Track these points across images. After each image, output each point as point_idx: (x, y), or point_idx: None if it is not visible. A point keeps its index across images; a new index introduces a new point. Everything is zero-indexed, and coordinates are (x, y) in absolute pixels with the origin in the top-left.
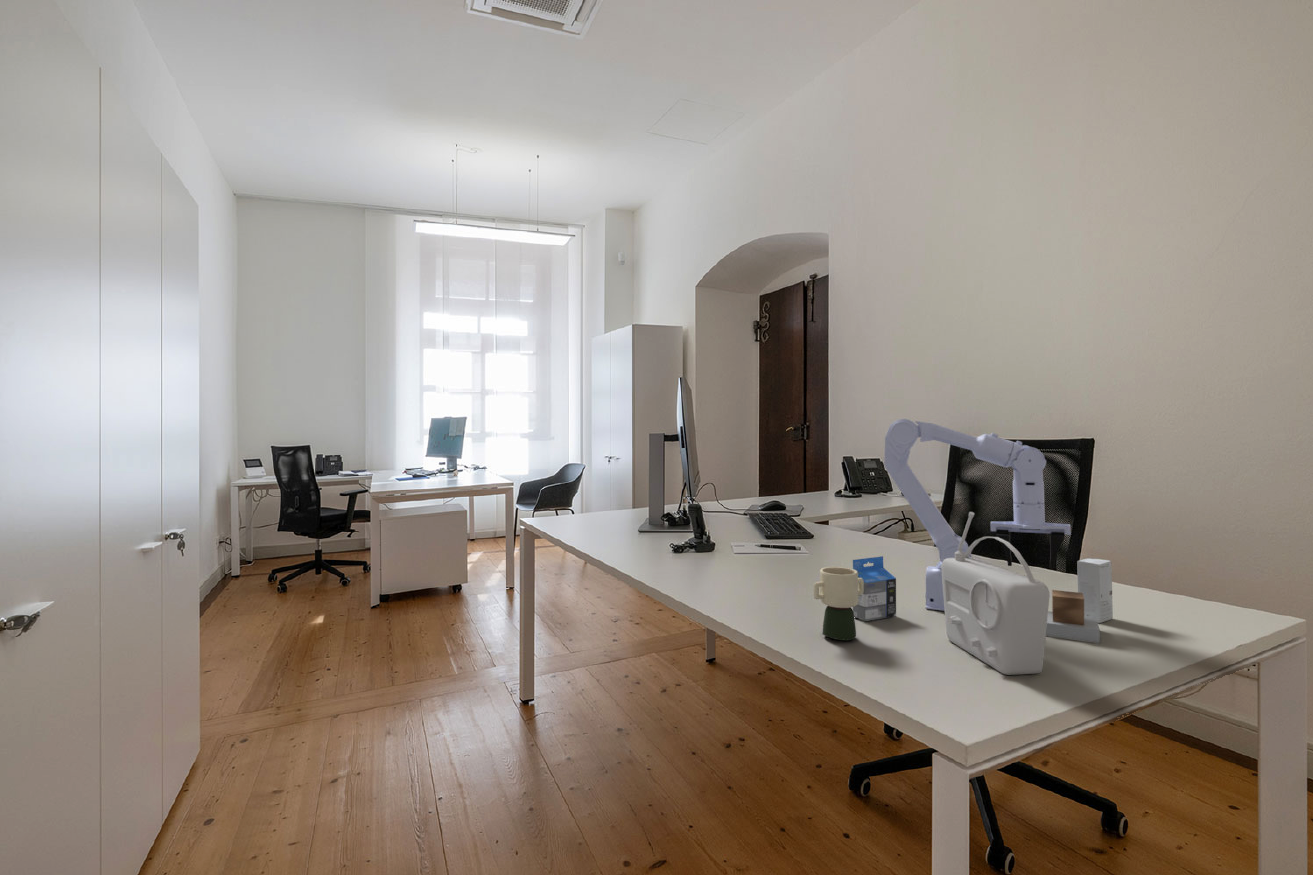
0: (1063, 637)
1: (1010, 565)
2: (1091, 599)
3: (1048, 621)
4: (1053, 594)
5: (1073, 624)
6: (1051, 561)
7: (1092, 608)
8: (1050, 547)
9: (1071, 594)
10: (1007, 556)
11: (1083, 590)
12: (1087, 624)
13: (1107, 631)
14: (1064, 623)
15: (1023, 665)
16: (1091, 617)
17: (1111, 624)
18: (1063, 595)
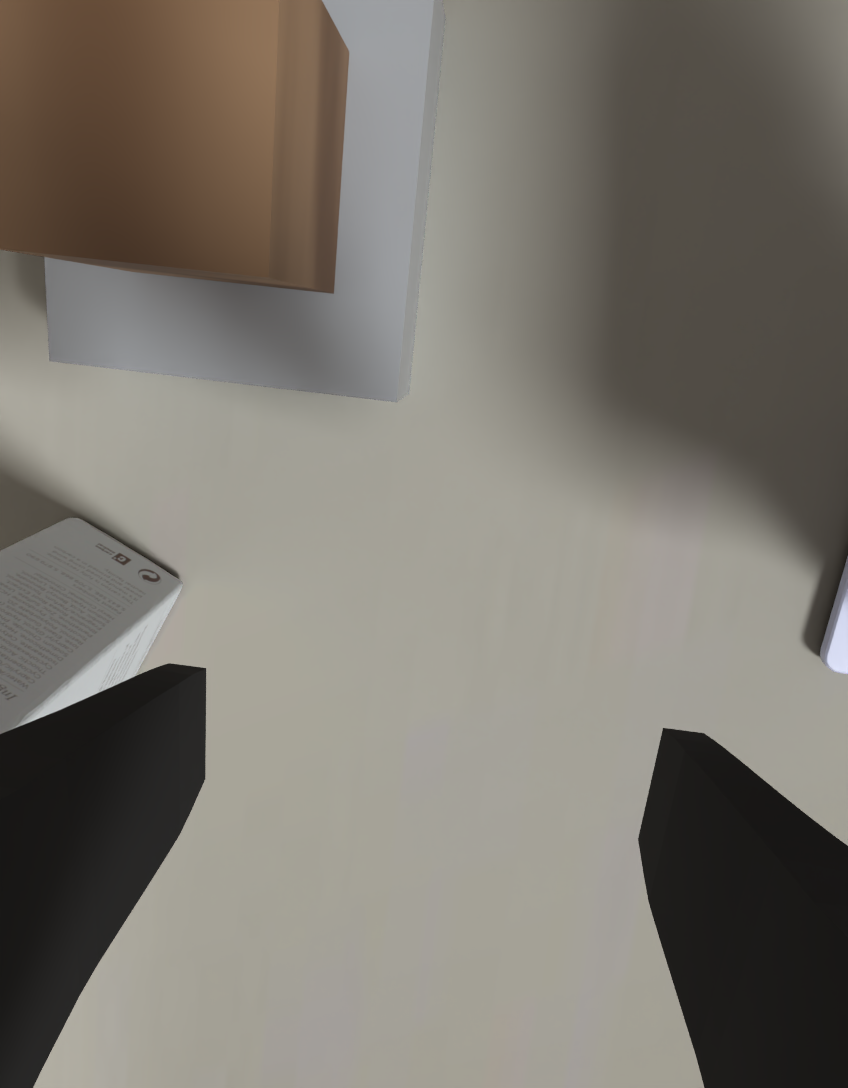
0: None
1: (679, 730)
2: (24, 592)
3: (384, 40)
4: (269, 25)
5: None
6: (141, 698)
7: (60, 563)
8: (47, 1024)
9: (89, 115)
10: (771, 795)
11: (36, 648)
12: None
13: (41, 339)
14: None
15: None
16: (76, 330)
17: (18, 520)
18: (168, 13)
